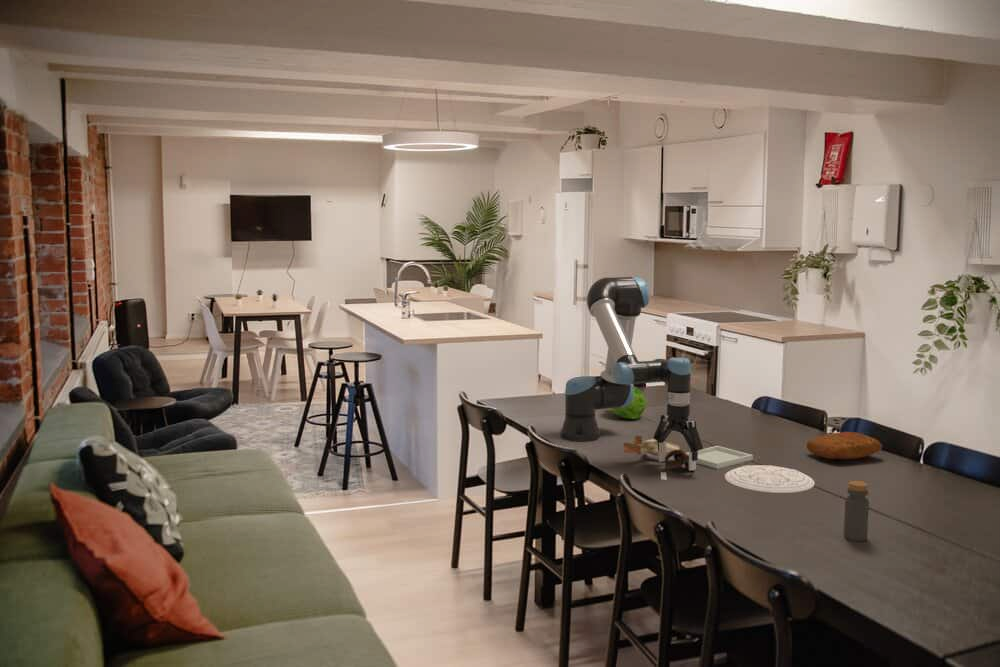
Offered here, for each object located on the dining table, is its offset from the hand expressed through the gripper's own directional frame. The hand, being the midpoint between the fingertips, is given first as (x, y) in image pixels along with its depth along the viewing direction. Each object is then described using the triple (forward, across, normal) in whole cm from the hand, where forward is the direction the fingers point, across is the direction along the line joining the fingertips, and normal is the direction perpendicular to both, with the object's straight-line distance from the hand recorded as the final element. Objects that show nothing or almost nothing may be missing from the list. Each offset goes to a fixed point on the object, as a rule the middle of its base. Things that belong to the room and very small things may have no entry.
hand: (677, 465), depth 302 cm
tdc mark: (+2, +3, -10) cm, 10 cm away
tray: (+2, 0, +20) cm, 21 cm away
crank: (-1, -14, +3) cm, 14 cm away
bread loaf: (+2, +25, +59) cm, 64 cm away
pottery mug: (+2, +1, 0) cm, 2 cm away
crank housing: (+1, -14, +8) cm, 16 cm away
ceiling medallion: (+2, +26, +16) cm, 30 cm away
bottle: (+2, +73, -10) cm, 74 cm away
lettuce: (+1, -70, +42) cm, 82 cm away
